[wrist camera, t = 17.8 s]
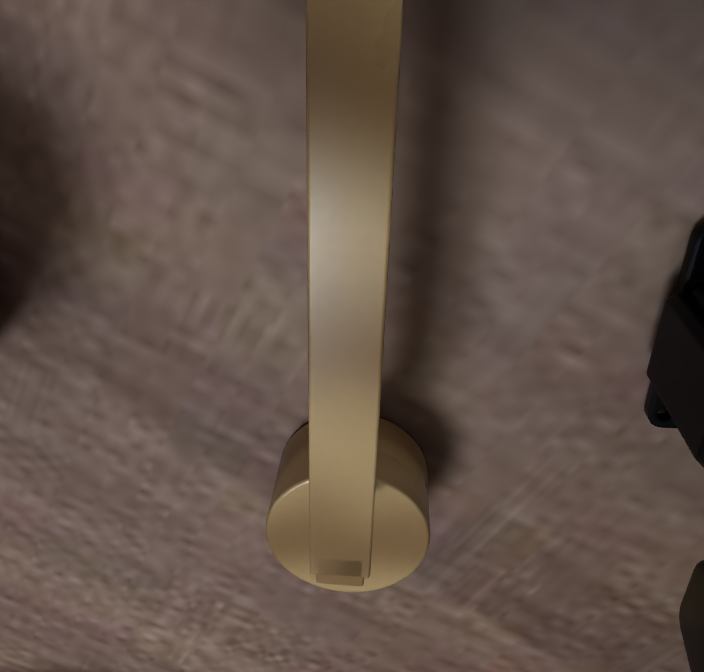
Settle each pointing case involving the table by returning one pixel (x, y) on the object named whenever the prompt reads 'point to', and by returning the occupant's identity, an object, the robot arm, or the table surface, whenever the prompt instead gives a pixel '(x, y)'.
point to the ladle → (349, 321)
